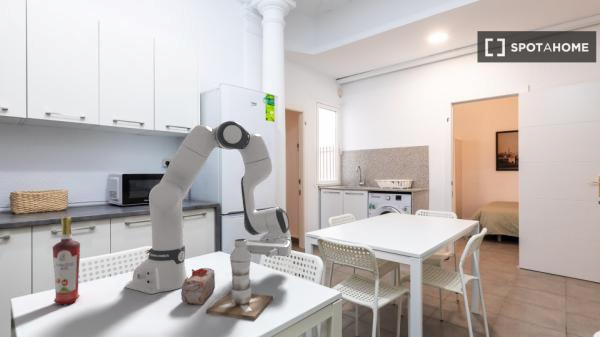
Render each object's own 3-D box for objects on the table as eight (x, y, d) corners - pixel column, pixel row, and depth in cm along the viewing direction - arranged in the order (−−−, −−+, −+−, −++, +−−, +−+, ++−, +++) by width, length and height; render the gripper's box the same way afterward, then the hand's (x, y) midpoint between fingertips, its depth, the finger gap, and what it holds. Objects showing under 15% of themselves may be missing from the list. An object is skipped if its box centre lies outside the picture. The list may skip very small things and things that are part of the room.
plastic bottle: (247, 308, 97) (246, 242, 97) (226, 306, 98) (226, 241, 98) (254, 299, 103) (254, 238, 103) (235, 297, 104) (234, 237, 104)
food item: (204, 307, 100) (203, 276, 100) (179, 306, 101) (178, 275, 101) (216, 290, 114) (216, 263, 114) (195, 290, 114) (194, 262, 114)
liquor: (50, 308, 100) (49, 220, 100) (56, 300, 106) (55, 216, 106) (78, 304, 103) (77, 218, 103) (82, 296, 109) (81, 215, 109)
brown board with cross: (206, 313, 96) (206, 309, 96) (230, 294, 110) (230, 291, 110) (254, 319, 91) (254, 316, 91) (273, 299, 106) (273, 295, 106)
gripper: (246, 235, 129) (230, 242, 115) (294, 237, 123) (283, 246, 110) (246, 250, 129) (230, 260, 115) (294, 253, 123) (283, 264, 110)
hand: (256, 253), depth 112 cm, fingers open, 8 cm apart
